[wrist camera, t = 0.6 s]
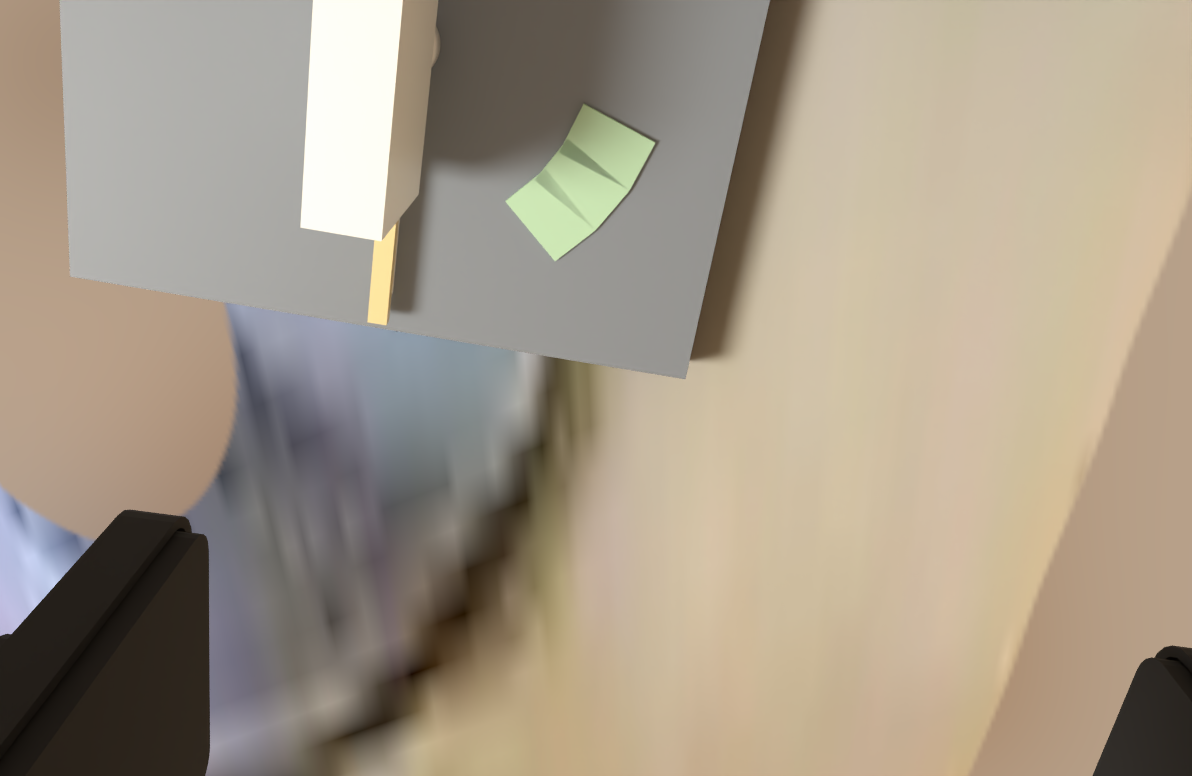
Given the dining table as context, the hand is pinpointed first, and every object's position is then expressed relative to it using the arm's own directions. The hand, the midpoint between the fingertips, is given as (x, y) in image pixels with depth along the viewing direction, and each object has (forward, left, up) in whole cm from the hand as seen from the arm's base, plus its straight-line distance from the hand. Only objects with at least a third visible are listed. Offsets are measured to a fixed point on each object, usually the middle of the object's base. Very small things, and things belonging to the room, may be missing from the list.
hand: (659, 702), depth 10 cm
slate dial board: (-3, -7, -25) cm, 26 cm away
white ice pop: (-1, -7, -23) cm, 24 cm away
